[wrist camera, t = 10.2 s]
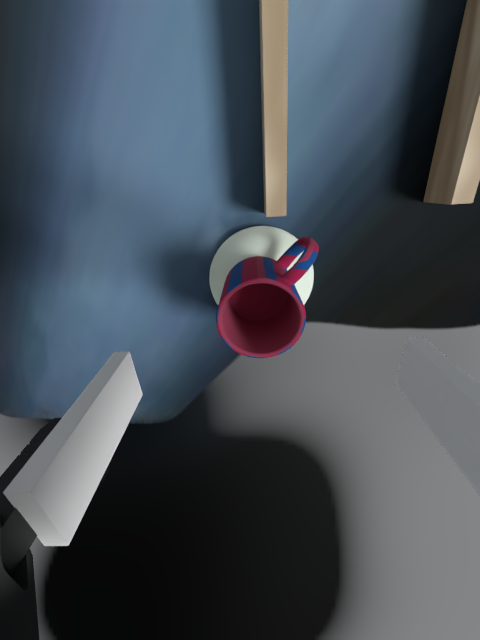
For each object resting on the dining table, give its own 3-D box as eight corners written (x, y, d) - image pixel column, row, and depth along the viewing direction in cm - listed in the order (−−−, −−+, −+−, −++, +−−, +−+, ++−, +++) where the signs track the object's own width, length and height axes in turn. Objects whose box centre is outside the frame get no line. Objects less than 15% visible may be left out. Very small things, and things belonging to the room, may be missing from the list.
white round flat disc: (215, 326, 29) (215, 328, 28) (204, 229, 24) (202, 230, 24) (309, 322, 28) (311, 324, 27) (315, 221, 24) (316, 222, 23)
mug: (210, 292, 26) (198, 323, 20) (282, 210, 23) (294, 218, 17) (259, 332, 28) (262, 372, 22) (333, 262, 24) (361, 287, 18)
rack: (264, 213, 23) (266, 217, 20) (257, -41, 17) (259, -94, 14) (441, 201, 22) (472, 202, 19) (508, -73, 16) (572, -138, 13)
